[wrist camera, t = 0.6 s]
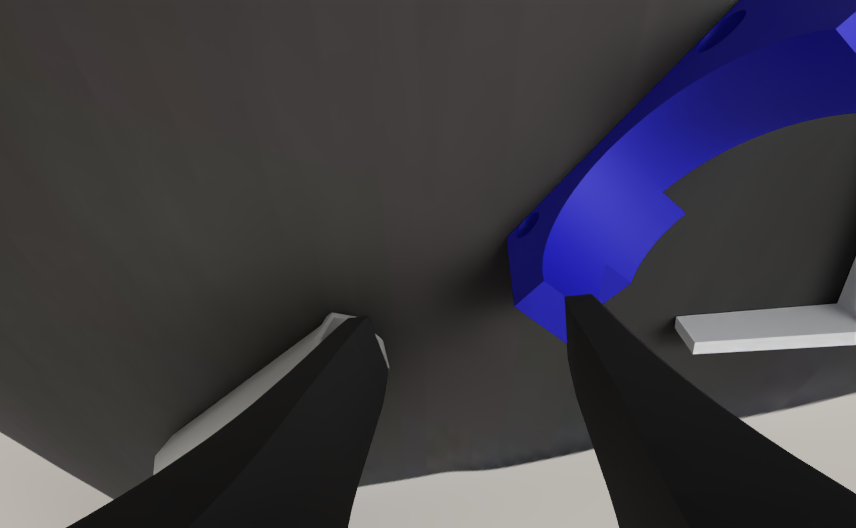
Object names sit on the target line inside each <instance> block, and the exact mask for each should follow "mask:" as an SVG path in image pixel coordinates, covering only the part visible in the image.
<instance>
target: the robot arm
mask: <svg viewBox="0 0 856 528" xmlns="http://www.w3.org/2000/svg"><path fill="white" fill-rule="evenodd" d="M564 297H565V316H566V334H567V352H568V361H569V366H570V370H571V375H572V380H573V384H574V388H575V393H576V397H577V400H578V403H579V406H580V409H581V412H582V415H583V418H584V421H585V424H586V427H587V429H588V432H589V435H590V438H591V441H592V444H593V447H594V450H595V452H596V455H597V458H598V461H599V464H600V467H601V470H602V473H603V476H604V479H605V481H606V485H607V488H608V491H609V494H610V497H611V500H612V503H613V506H614V510H615V513H616V517H617V520H618V525H619V528H856V494H855V493H854V492H852V491H850V490H849V489H847V488H845V487H844V486H842V485H841V484H839V483H837V482H836V481H834V480H832V479H831V478H829V477H828V476H826V475H824V474H823V473H821V472H820V471H818V470H816V469H815V468H813V467H811V466H810V465H808V464H806V463H805V462H803V461H802V460H800V459H798V458H797V457H795V456H793V455H792V454H790V453H789V452H787V451H786V450H784V449H783V448H781V447H780V446H778V445H777V444H775V443H774V442H772V441H771V440H769V439H768V438H766V437H765V436H763V435H762V434H760V433H759V432H757V431H756V430H754V429H753V428H752V427H750V426H749V425H747V424H746V423H744V422H743V421H742V420H740V419H739V418H737V417H736V416H734V415H733V414H732V413H730V412H729V411H727V410H726V409H725V408H723V407H722V406H721V405H719V404H718V403H717V402H715V401H714V400H712V399H711V398H710V397H709V396H707V395H706V394H705V393H703V392H702V391H701V390H699V389H698V388H697V387H696V386H694V385H693V384H692V383H690V382H689V381H688V380H687V379H685V378H684V377H683V376H682V375H680V374H679V373H678V372H677V371H675V370H674V369H673V368H672V367H671V366H669V365H668V364H667V363H666V362H665V361H663V360H662V359H661V358H660V357H659V356H658V355H656V354H655V353H654V352H653V351H652V350H651V349H650V348H648V347H647V346H646V345H645V344H644V343H643V342H642V341H641V340H639V339H638V338H637V337H636V336H635V335H634V334H633V333H632V332H631V331H630V330H629V329H627V328H626V327H625V326H624V325H623V324H622V323H621V322H620V321H619V320H618V319H617V318H616V317H615V316H614V315H613V314H612V313H611V312H610V311H609V310H608V309H607V308H606V307H605V306H604V305H603V304H602V303H601V302H600V301H599V300H598V299H597V298H596V297H595V296H594V295H592V294H585V295H574V296H564ZM388 371H389V368H388V366H387V363H386V361H385V358H384V356H383V353H382V350H381V348H380V345H379V343H378V340H377V338H376V335H375V332H374V330H373V327H372V325H371V322H370V320H369V317H368V316H363V317H353V318H348V319H346V320H345V321H344V322H343V323H341V324H340V325H339V326H338V327H337V328H336V329H335V330H334V331H332V332H331V333H330V334H329V335H328V336H327V337H326V338H325V339H324V340H323V341H322V342H321V343H320V344H319V345H318V346H316V347H315V348H314V349H313V350H312V351H311V352H310V353H309V354H308V355H307V356H306V357H305V358H304V359H303V360H301V361H300V362H299V363H298V364H297V365H296V366H295V367H294V368H293V369H292V370H291V371H290V372H288V373H287V374H286V375H285V376H284V377H283V378H282V379H280V380H279V381H278V382H277V383H276V384H275V385H274V386H272V387H271V388H270V389H269V390H268V391H267V392H265V393H264V394H263V395H262V396H261V397H260V398H259V399H257V400H256V401H255V402H254V403H253V404H251V405H250V406H249V407H248V408H247V409H245V410H244V411H243V412H242V413H240V414H239V415H238V416H237V417H235V418H234V419H233V420H231V421H230V422H229V423H227V424H226V425H225V426H223V427H222V428H221V429H219V430H218V431H217V432H215V433H214V434H213V435H212V436H210V437H209V438H207V439H206V440H205V441H203V442H202V443H200V444H199V445H197V446H196V447H195V448H193V449H192V450H190V451H189V452H187V453H186V454H184V455H183V456H181V457H180V458H178V459H177V460H175V461H174V462H172V463H171V464H169V465H168V466H167V467H165V468H164V469H162V470H161V471H159V472H158V473H156V474H155V475H153V476H152V477H150V478H149V479H147V480H145V481H144V482H142V483H141V484H139V485H137V486H136V487H134V488H133V489H131V490H129V491H128V492H126V493H124V494H123V495H121V496H120V497H118V498H116V499H115V500H113V501H111V502H110V503H108V504H106V505H104V506H103V507H101V508H99V509H98V510H96V511H94V512H93V513H91V514H89V515H88V516H86V517H84V518H82V519H81V520H79V521H77V522H75V523H74V524H72V525H70V526H68V527H67V528H348V524H349V520H350V515H351V510H352V506H353V502H354V498H355V494H356V491H357V487H358V484H359V481H360V477H361V474H362V471H363V468H364V464H365V461H366V458H367V455H368V451H369V448H370V445H371V442H372V439H373V435H374V432H375V429H376V425H377V422H378V419H379V415H380V412H381V409H382V405H383V400H384V395H385V390H386V384H387V377H388Z"/></svg>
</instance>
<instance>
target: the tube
mask: <svg viewBox="0 0 856 528" xmlns="http://www.w3.org/2000/svg"><path fill="white" fill-rule="evenodd" d="M353 317H356V316H350V315H344V314H338V313H332V312H331V313H330V314H329V315H328V316H327V317H326V318H325V320H324V322H323V323H322V325H321V326H320V327H318V328H317V329H315V330H314V331H313V332H311V333H310V334H309V335H307V336H306V337H305V338H303V339H302V340H301V341H299V342H298V343H297V344H295V345H294V346H292V347H291V348H290V349H288V350H287V351H286V352H284V353H283V354H282V355H280V356H279V357H278V358H276V359H275V360H274V361H272V362H271V363H269V364H268V365H267V366H265V367H264V368H263V369H261V370H260V371H259V372H257V373H256V374H255V375H253V376H252V377H251V378H249V379H248V380H246V381H245V382H244V383H242V384H241V385H240V386H238V387H237V388H236V389H234V390H233V391H232V392H230V393H229V394H228V395H226V396H225V397H223V398H222V399H221V400H219V401H218V402H217V403H215V404H214V405H213V406H211V407H210V408H209V409H207V410H206V411H205V412H203V413H202V414H200V415H199V416H198V417H196V418H195V419H194V420H192V421H191V422H190V423H188V424H187V425H186V426H184V427H183V428H182V429H180V430H179V431H177V432H176V433H175V434H173V435H172V436H171V438H170V439H169V440H168V441H167V442H166V444H165V445H164V446H163V447H162V449H161V450H160V451H159V452H158V453H157V455H156V456H155V463H154V474H153V475H155V474H156V473H158V472H159V471H161V470H162V469H164V468H165V467H167V466H168V465H169V464H171V463H172V462H174V461H175V460H177V459H178V458H180V457H181V456H183V455H184V454H186V453H187V452H189V451H190V450H192V449H193V448H195V447H196V446H197V445H199V444H200V443H202V442H203V441H205V440H206V439H207V438H209V437H210V436H212V435H213V434H214V433H215V432H217V431H218V430H219V429H221V428H222V427H223V426H225V425H226V424H227V423H229V422H230V421H231V420H233V419H234V418H235V417H237V416H238V415H239V414H240V413H242V412H243V411H244V410H245V409H247V408H248V407H249V406H250V405H251V404H253V403H254V402H255V401H256V400H257V399H259V398H260V397H261V396H262V395H263V394H264V393H265V392H267V391H268V390H269V389H270V388H271V387H272V386H274V385H275V384H276V383H277V382H278V381H279V380H280V379H282V378H283V377H284V376H285V375H286V374H287V373H288V372H290V371H291V370H292V369H293V368H294V367H295V366H296V365H297V364H298V363H299V362H300V361H301V360H303V359H304V358H305V357H306V356H307V355H308V354H309V353H310V352H311V351H312V350H313V349H314V348H315V347H316V346H318V345H319V344H320V343H321V342H322V341H323V340H324V339H325V338H326V337H327V336H328V335H329V334H330V333H331V332H332V331H334V330H335V329H336V328H337V327H338V326H339V325H340V324H341V323H343V322H344V321H345V320H346V319H348V318H353ZM375 335H376V334H375ZM376 338H377V340H378V343H379V345H380V348H381V350H382V353H383V356H384V358H385V361H386V363H387V366H388V368H389V364H388V360H387V355H386V351H385V347H384V343H383V340H382V339H381V338H380V337H379V336H378V335H376Z"/></svg>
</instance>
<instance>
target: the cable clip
mask: <svg viewBox="0 0 856 528" xmlns="http://www.w3.org/2000/svg"><path fill="white" fill-rule="evenodd" d="M850 113H856V0H740V1H739V2H738V3H737V4H736V5H735V6H734V7H733V8H732V9H731V10H730V11H729V12H728V13H727V14H726V15H725V16H724V17H723V18H722V19H721V20H720V21H719V22H718V23H717V24H716V25H715V26H714V27H713V28H712V29H711V30H710V31H709V32H708V33H707V34H706V35H705V36H704V37H703V38H702V39H701V40H700V41H699V42H698V43H697V44H696V45H695V46H694V47H693V48H692V49H691V50H690V51H689V52H688V53H687V54H686V55H685V56H684V57H683V58H682V59H681V61H680V62H679V63H678V64H677V65H676V66H675V67H674V68H673V69H672V70H671V71H670V72H669V73H668V74H667V75H666V76H665V77H664V78H663V79H662V80H661V81H660V82H659V83H658V84H657V85H656V86H655V87H654V88H653V89H652V90H651V91H650V92H649V93H648V94H647V95H646V96H645V97H644V98H643V99H642V100H641V101H640V102H639V103H638V104H637V105H636V106H635V107H634V108H633V109H632V110H631V111H630V112H629V113H628V114H627V115H626V116H625V117H624V118H623V119H622V120H621V122H620V123H619V124H618V125H617V126H616V127H615V128H614V129H613V130H612V131H611V132H610V133H609V134H608V135H607V136H606V137H605V138H604V139H603V140H602V141H601V142H600V143H599V144H598V145H597V146H596V147H595V148H594V149H593V150H592V151H591V152H590V153H589V154H588V155H587V156H586V157H585V158H584V159H583V160H582V161H581V162H580V163H579V164H578V165H577V166H576V167H575V168H574V169H573V170H572V171H571V172H570V173H569V174H568V175H567V176H566V177H565V178H564V179H563V180H562V181H561V183H560V184H559V185H558V186H557V187H556V188H555V189H554V190H553V191H552V192H551V193H550V194H549V195H548V196H547V197H546V198H545V199H544V200H543V201H542V202H541V203H540V204H539V205H538V206H537V207H536V208H535V209H534V210H533V211H532V212H531V213H530V214H529V215H528V216H527V217H526V218H525V219H524V220H523V221H522V222H521V223H520V224H519V225H518V226H517V227H516V228H515V229H514V230H513V231H512V232H511V233H510V234H509V235H508V236H507V246H508V255H509V264H510V273H511V282H512V291H513V300H514V307H516V308H517V309H518V310H520V311H521V312H523V313H524V314H526V315H527V316H528V317H530V318H531V319H533V320H534V321H535V322H537V323H538V324H540V325H541V326H543V327H544V328H545V329H547V330H548V331H550V332H551V333H552V334H554V335H555V336H557V337H558V338H560V339H561V340H562V341H564V342H565V343H567V334H566V316H565V297H564V296H574V295H585V294H592V295H594V296H595V297H596V298H597V299H598V300H599V301H600V302H601V303H602V304H603V303H605V302H606V301H607V300H609V299H610V298H611V297H613V296H614V295H616V294H617V293H618V292H620V291H621V290H622V289H624V288H625V287H626V286H628V285H629V284H630V283H631V281H632V279H633V277H634V275H635V272H636V270H637V269H638V267H639V265H640V263H641V262H642V260H643V259H644V257H645V256H646V254H647V253H648V251H649V250H650V249H651V248H652V246H653V245H654V244H655V243H656V242H657V240H658V239H659V238H660V237H661V236H662V235H663V234H664V233H665V232H666V231H667V230H668V229H669V228H670V227H671V226H672V225H673V224H674V223H676V222H677V221H678V220H679V219H680V218H681V217H683V216H684V215H685V214H686V213H685V212H684V211H683V210H682V209H680V208H679V207H678V206H677V205H676V204H675V203H674V202H673V201H671V200H670V199H669V198H668V197H667V196H666V195H665V194H664V193H662V192H663V191H664V190H666V189H667V188H668V187H669V186H671V185H672V184H673V183H675V182H676V181H677V180H679V179H680V178H681V177H683V176H684V175H686V174H687V173H689V172H690V171H692V170H693V169H695V168H696V167H698V166H700V165H701V164H703V163H704V162H706V161H708V160H710V159H711V158H713V157H715V156H717V155H718V154H720V153H722V152H724V151H726V150H728V149H730V148H732V147H734V146H736V145H739V144H741V143H743V142H745V141H748V140H750V139H752V138H755V137H757V136H760V135H763V134H765V133H768V132H771V131H774V130H777V129H780V128H783V127H786V126H789V125H793V124H796V123H800V122H804V121H808V120H813V119H817V118H822V117H827V116H834V115H841V114H850Z"/></svg>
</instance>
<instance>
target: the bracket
mask: <svg viewBox="0 0 856 528" xmlns="http://www.w3.org/2000/svg"><path fill="white" fill-rule="evenodd" d="M675 329H676V331H677V332H678V334H679V335H680V337H681V338H682V339H683V341H684V342H685V344H686V345H687V347H688V348H689V350H690V351H691V353H692V354H707V353H725V352H742V351H759V350H776V349H794V348H811V347H828V346H845V345H856V257H855V260H854V262H853V265H852V267H851V270H850V272H849V275H848V277H847V280H846V282H845V285H844V287H843V290H842V293H841V295H840V298H839V300H838V303H837V304H824V305H812V306H799V307H787V308H775V309H762V310H750V311H738V312H725V313H713V314H701V315H688V316H676V321H675Z"/></svg>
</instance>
